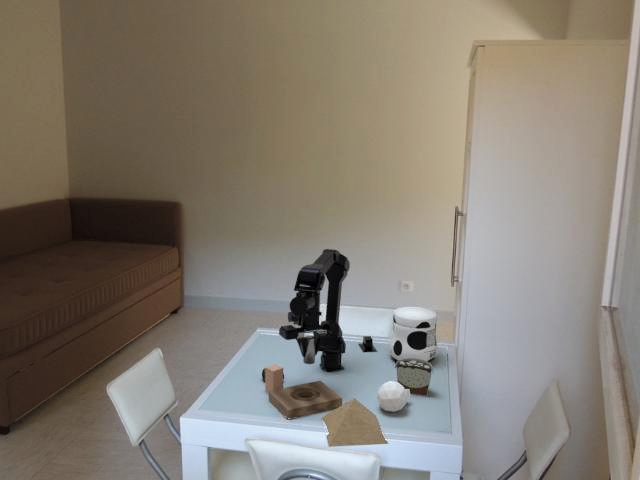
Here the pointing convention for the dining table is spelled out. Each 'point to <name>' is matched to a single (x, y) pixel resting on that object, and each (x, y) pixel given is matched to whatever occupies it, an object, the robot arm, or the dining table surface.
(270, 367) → the square bar
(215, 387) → the dining table surface
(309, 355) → the round dowel
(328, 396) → the bore block
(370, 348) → the black stepped block
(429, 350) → the milk container
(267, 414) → the dining table surface
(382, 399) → the perfume bottle
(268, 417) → the dining table surface
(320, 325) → the robot arm
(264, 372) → the tape measure
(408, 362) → the food container
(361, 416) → the model pyramid
